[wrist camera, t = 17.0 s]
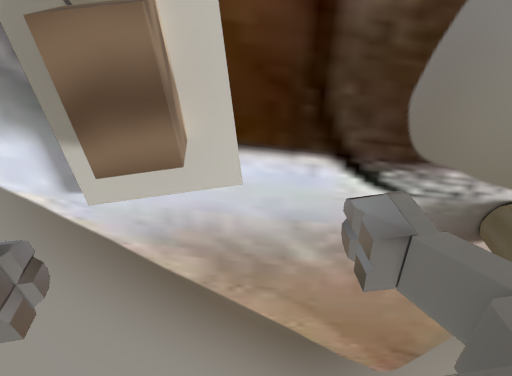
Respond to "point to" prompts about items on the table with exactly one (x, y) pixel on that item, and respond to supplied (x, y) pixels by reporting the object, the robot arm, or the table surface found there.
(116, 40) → the block
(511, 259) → the flower pot
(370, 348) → the table surface
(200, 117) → the marked board
